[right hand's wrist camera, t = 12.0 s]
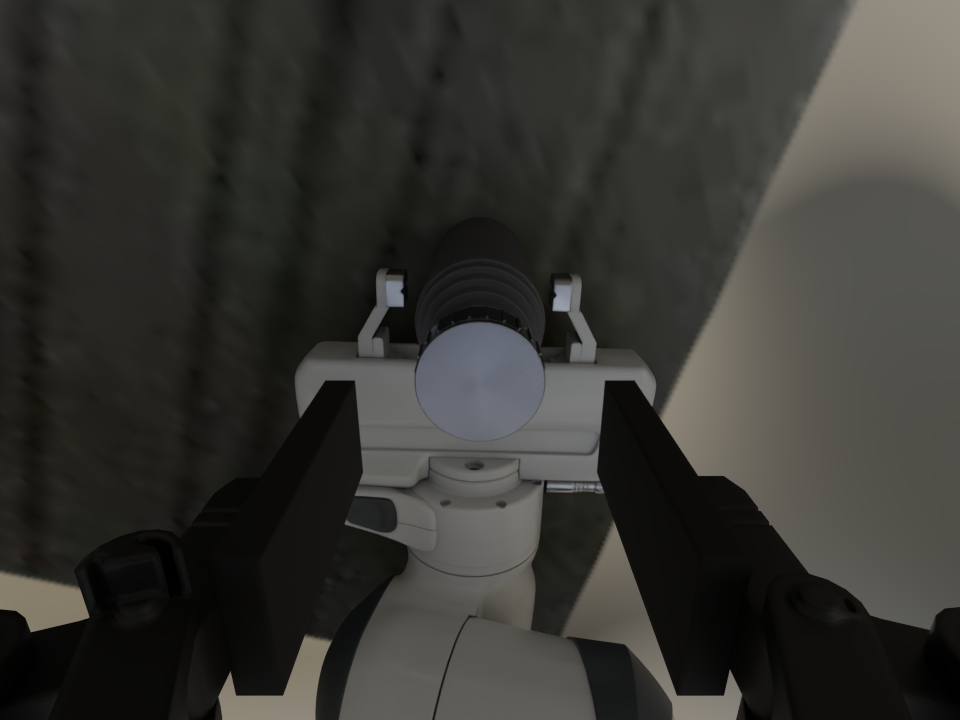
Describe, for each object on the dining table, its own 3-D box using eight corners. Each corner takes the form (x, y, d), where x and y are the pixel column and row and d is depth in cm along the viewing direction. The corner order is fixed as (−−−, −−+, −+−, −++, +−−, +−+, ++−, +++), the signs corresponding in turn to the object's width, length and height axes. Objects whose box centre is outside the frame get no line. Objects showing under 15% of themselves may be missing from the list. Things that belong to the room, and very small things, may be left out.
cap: (460, 438, 20) (458, 464, 18) (394, 344, 18) (386, 363, 17) (563, 383, 19) (571, 404, 17) (501, 281, 18) (503, 293, 16)
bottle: (466, 316, 37) (453, 480, 19) (421, 246, 35) (359, 352, 17) (537, 274, 36) (596, 405, 18) (494, 200, 34) (510, 261, 16)
